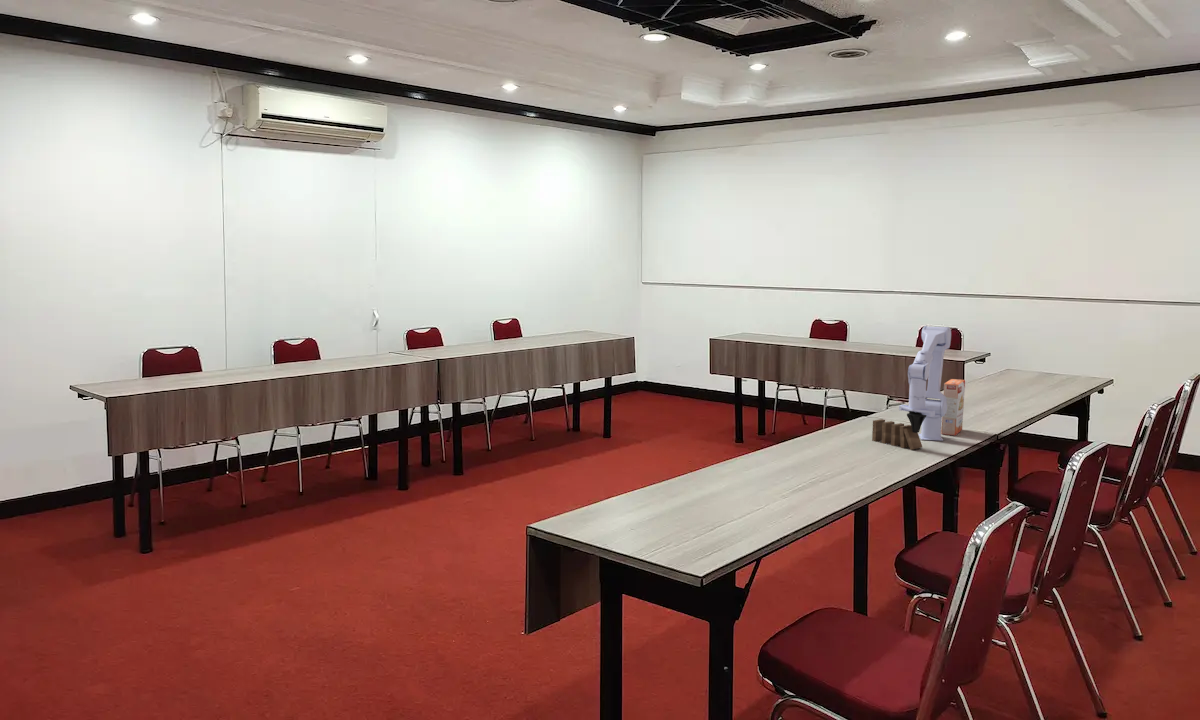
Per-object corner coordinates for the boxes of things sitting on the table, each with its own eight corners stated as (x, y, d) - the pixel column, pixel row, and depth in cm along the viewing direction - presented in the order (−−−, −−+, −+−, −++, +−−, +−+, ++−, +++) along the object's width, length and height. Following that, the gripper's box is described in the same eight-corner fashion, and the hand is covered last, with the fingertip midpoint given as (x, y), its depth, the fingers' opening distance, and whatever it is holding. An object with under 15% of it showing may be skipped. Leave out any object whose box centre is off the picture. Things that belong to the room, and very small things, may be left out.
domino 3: (890, 445, 323) (891, 424, 322) (899, 443, 325) (900, 423, 324) (894, 446, 321) (895, 425, 320) (903, 444, 324) (904, 423, 323)
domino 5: (910, 450, 315) (903, 429, 317) (919, 448, 318) (912, 427, 320) (913, 448, 314) (906, 428, 316) (922, 447, 316) (915, 426, 318)
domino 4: (900, 447, 319) (899, 426, 318) (909, 445, 321) (908, 424, 321) (904, 448, 318) (903, 426, 317) (913, 446, 320) (912, 425, 320)
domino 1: (884, 439, 332) (885, 419, 331) (875, 441, 329) (876, 421, 328) (881, 439, 333) (881, 419, 332) (872, 440, 330) (872, 420, 329)
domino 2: (881, 442, 327) (882, 422, 325) (890, 441, 329) (891, 421, 328) (884, 443, 325) (885, 423, 324) (893, 442, 328) (894, 421, 327)
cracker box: (956, 436, 337) (959, 384, 334) (940, 434, 340) (943, 383, 337) (963, 429, 348) (966, 379, 345) (947, 428, 351) (950, 378, 349)
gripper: (894, 394, 318) (892, 430, 320) (926, 400, 305) (925, 437, 307) (906, 392, 321) (905, 427, 323) (939, 398, 309) (937, 434, 311)
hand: (915, 432), depth 315 cm, fingers closed
